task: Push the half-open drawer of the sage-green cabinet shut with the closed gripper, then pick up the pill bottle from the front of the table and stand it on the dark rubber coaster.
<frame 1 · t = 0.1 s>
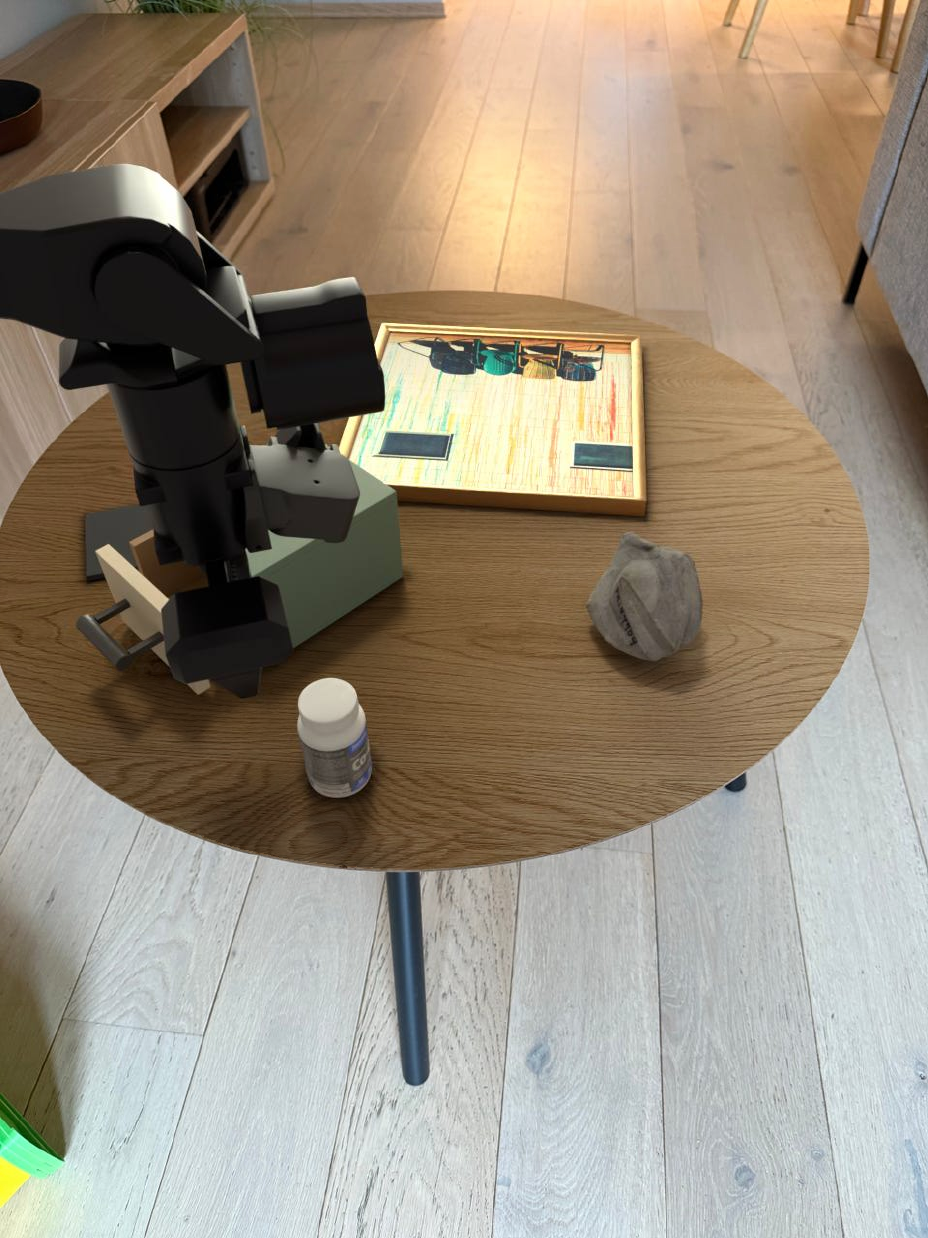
hand: (239, 641, 60), 14 cm above the table, tool pointing down, fingers open, 9 cm apart
cabinet: (294, 582, 83), on the table
pill bottle: (340, 773, 69), on the table
fossil: (641, 629, 79), on the table
picture frame: (498, 418, 101), on the table
drawer: (197, 593, 76), point 5 cm above the table, slide at 5.0 cm
coaster: (137, 539, 87), on the table
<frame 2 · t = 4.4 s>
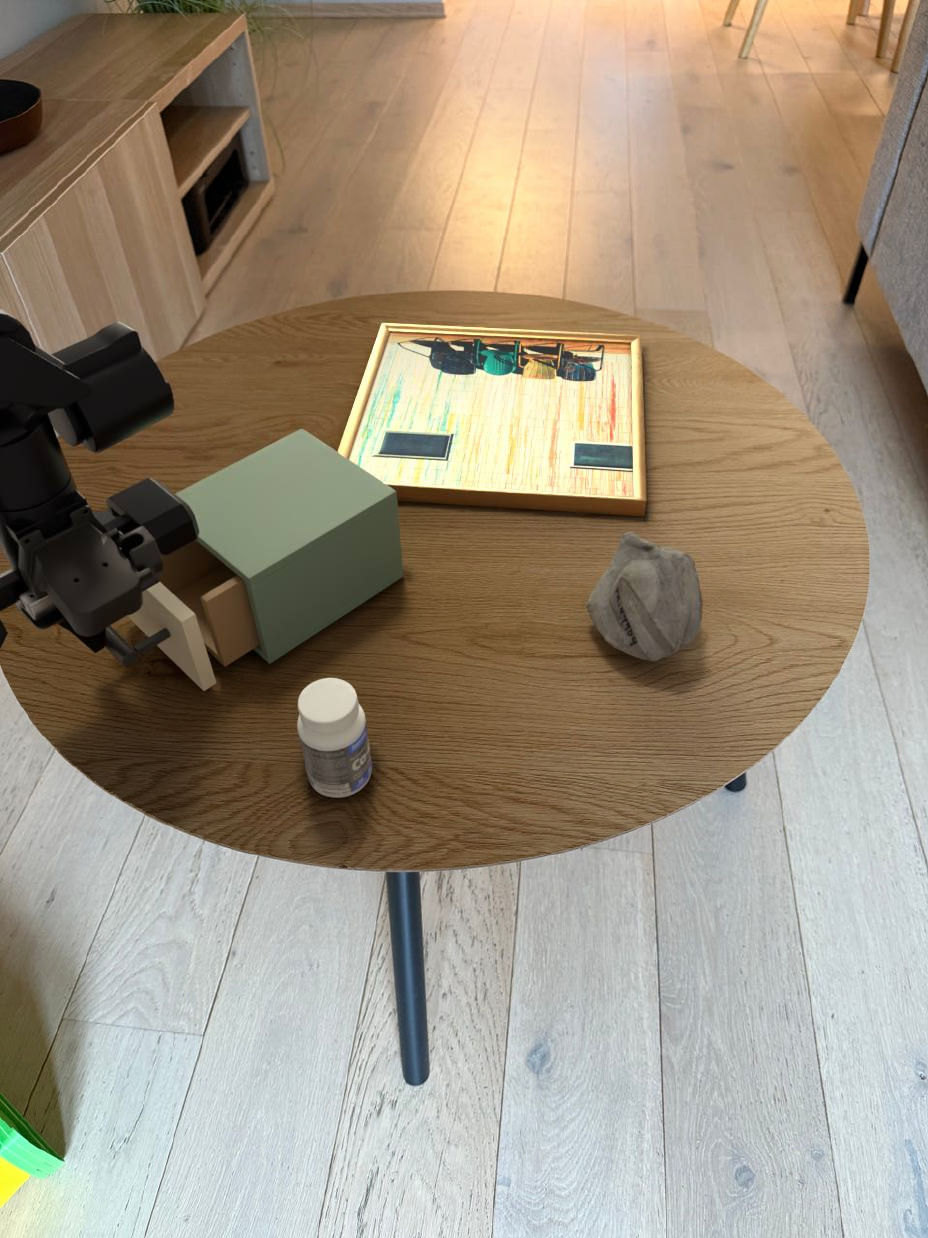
hand: (96, 648, 71), 5 cm above the table, tool pointing down, fingers closed
drawer: (203, 590, 76), point 5 cm above the table, slide at 4.5 cm, touching gripper
everything else where it was.
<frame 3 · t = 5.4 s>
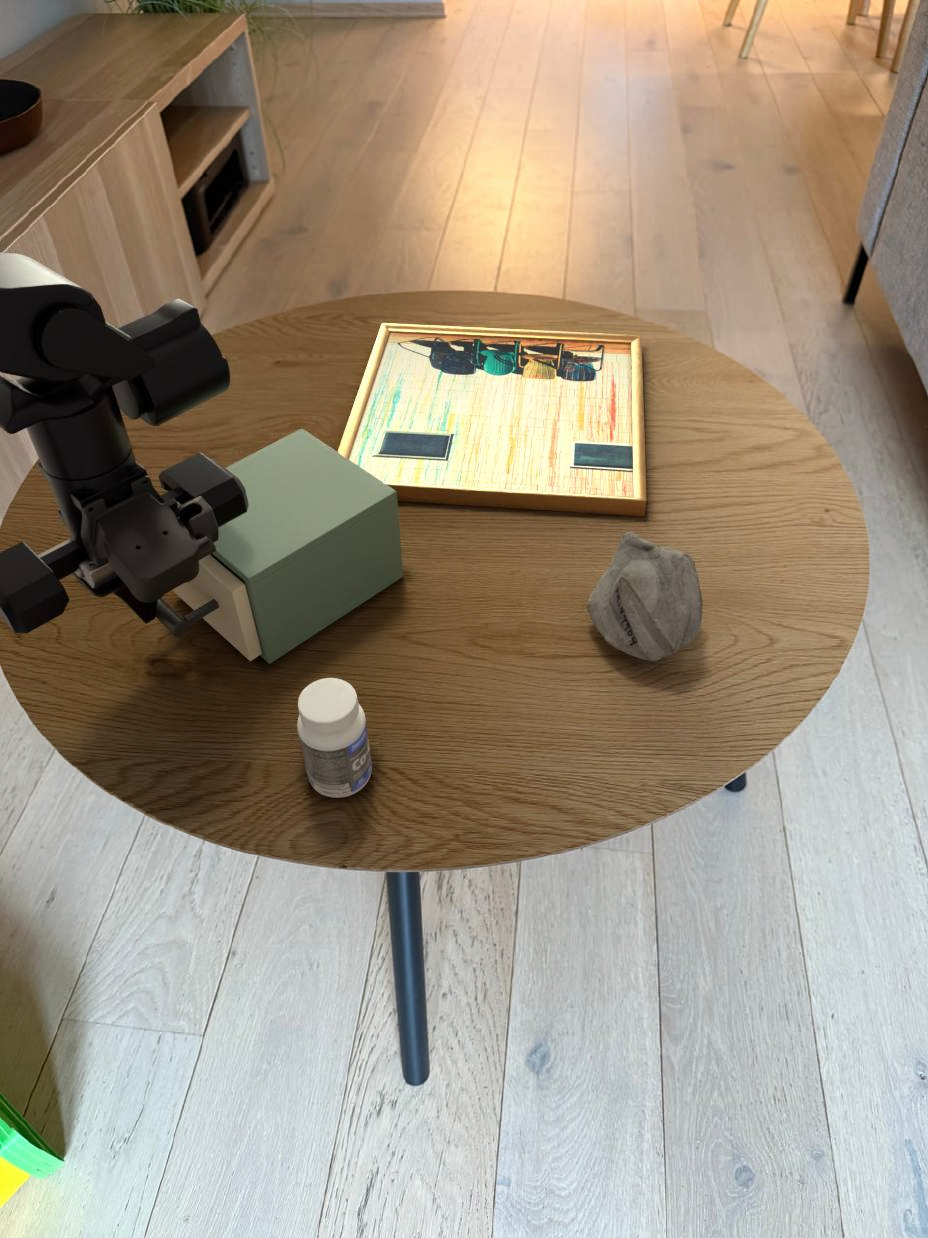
hand: (147, 618, 73), 5 cm above the table, tool pointing down, fingers closed
drawer: (248, 563, 78), point 5 cm above the table, slide at 0.1 cm, touching gripper
everything else where it was.
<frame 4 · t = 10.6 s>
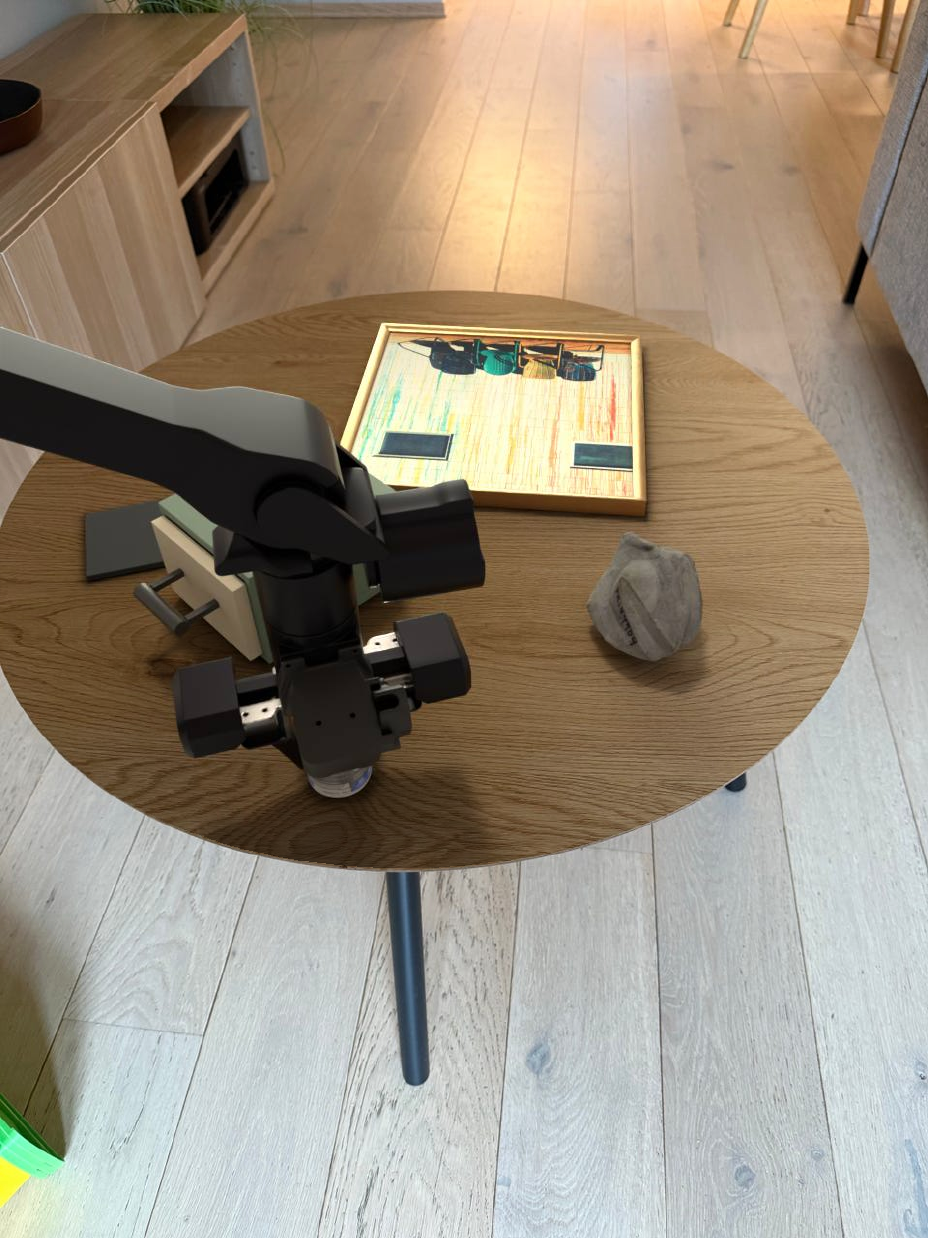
hand: (337, 756, 68), 2 cm above the table, tool pointing down, fingers closed on pill bottle, 5 cm apart
pill bottle: (340, 773, 69), on the table, touching gripper
drawer: (248, 563, 78), point 5 cm above the table, slide at 0.0 cm
everything else where it was.
when the fingers open (3 cm above the table, at t = 17.4 s): pill bottle stays where it is, resting on coaster.
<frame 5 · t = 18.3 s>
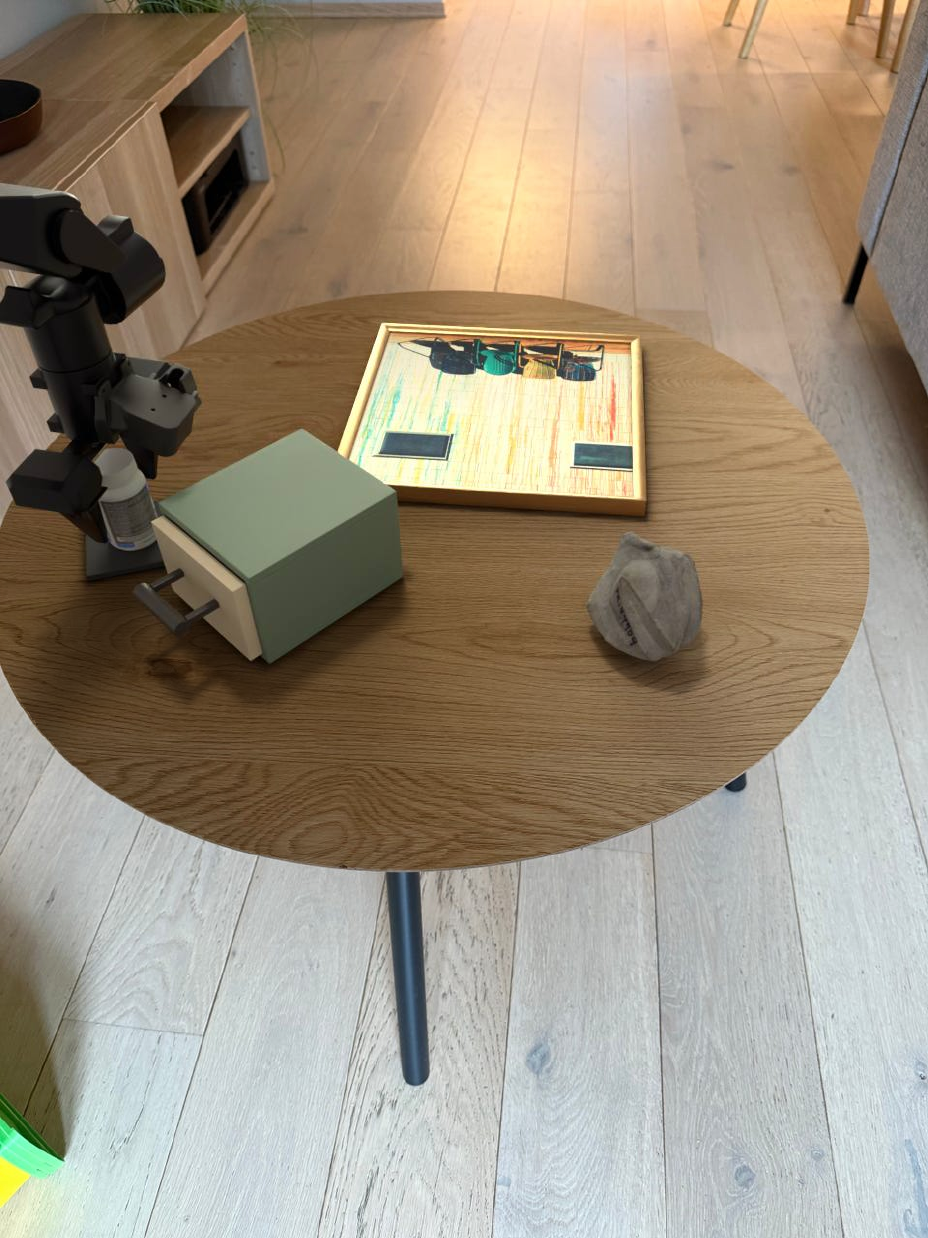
hand: (127, 508, 85), 4 cm above the table, tool pointing down, fingers open, 9 cm apart
pill bottle: (136, 536, 87), resting on coaster
everything else where it was.
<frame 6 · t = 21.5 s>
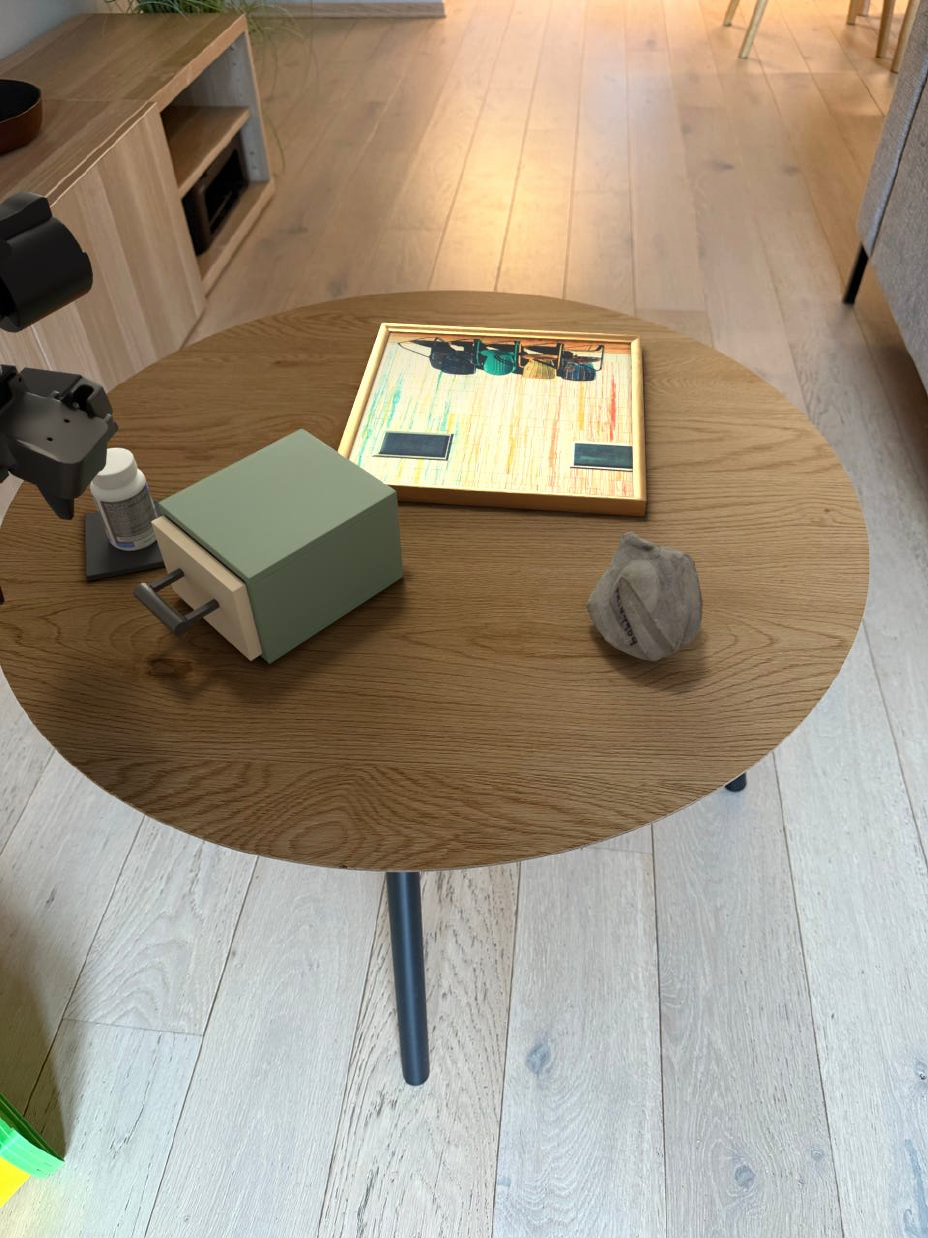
hand: (33, 558, 68), 12 cm above the table, tool pointing down, fingers open, 9 cm apart
nothing on the table moved.
at the end: drawer slide at 0.0 cm; pill bottle 0.1 cm off-centre on the coaster, point 0.4 cm above the coaster's base; pill bottle tilted 0° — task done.
